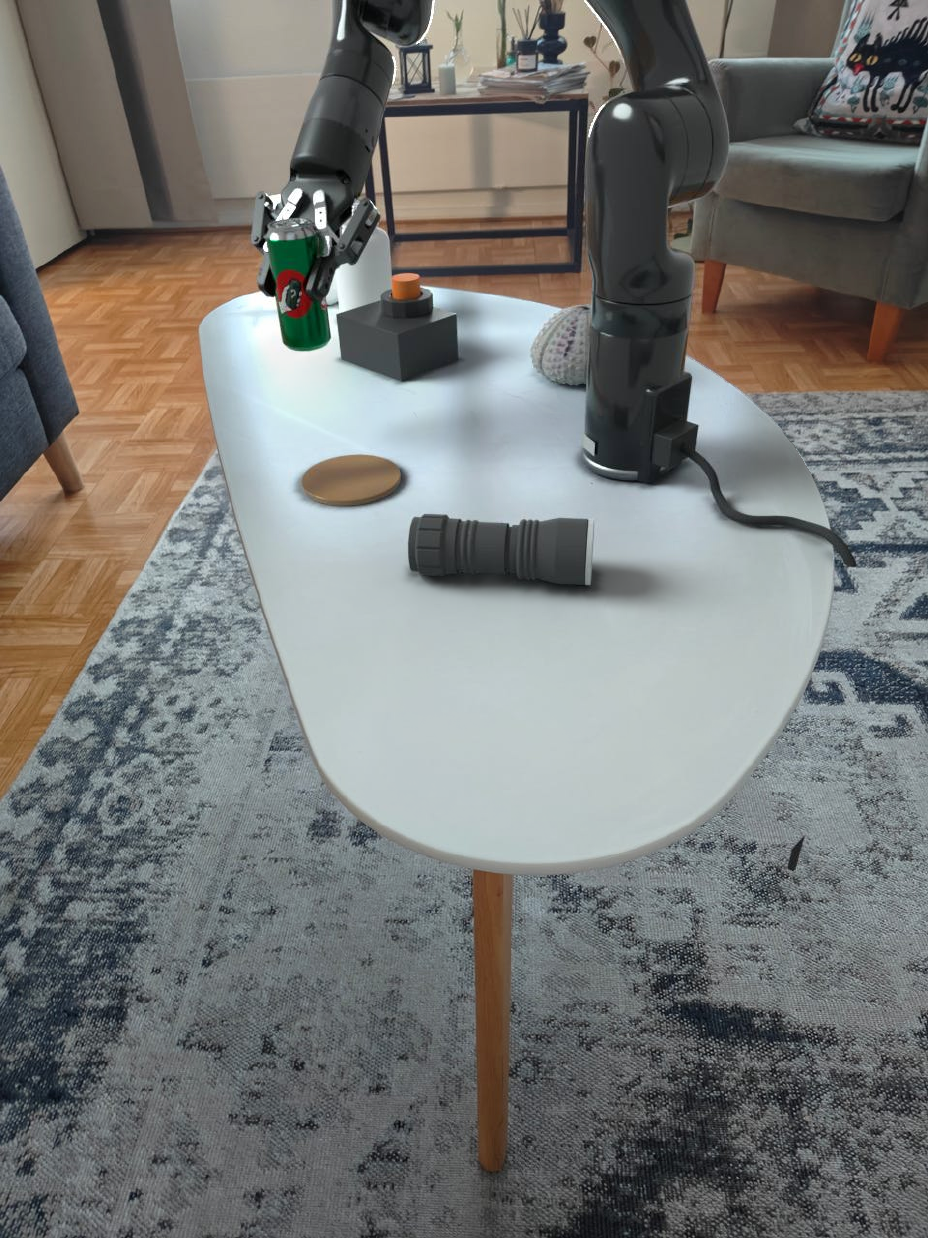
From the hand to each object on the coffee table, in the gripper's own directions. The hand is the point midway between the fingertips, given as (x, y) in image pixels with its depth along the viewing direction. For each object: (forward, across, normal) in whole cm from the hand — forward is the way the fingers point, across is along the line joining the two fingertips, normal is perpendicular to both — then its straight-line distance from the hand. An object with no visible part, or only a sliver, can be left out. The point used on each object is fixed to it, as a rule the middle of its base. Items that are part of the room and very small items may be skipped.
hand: (289, 294), depth 90 cm
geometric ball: (-19, -25, +42) cm, 52 cm away
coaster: (+16, +9, +6) cm, 19 cm away
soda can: (+3, 0, +5) cm, 6 cm away
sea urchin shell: (-9, +21, +32) cm, 40 cm away
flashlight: (+23, +30, 0) cm, 38 cm away
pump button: (-13, -2, +25) cm, 28 cm away
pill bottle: (-16, -15, +38) cm, 44 cm away
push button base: (-7, -3, +29) cm, 30 cm away
